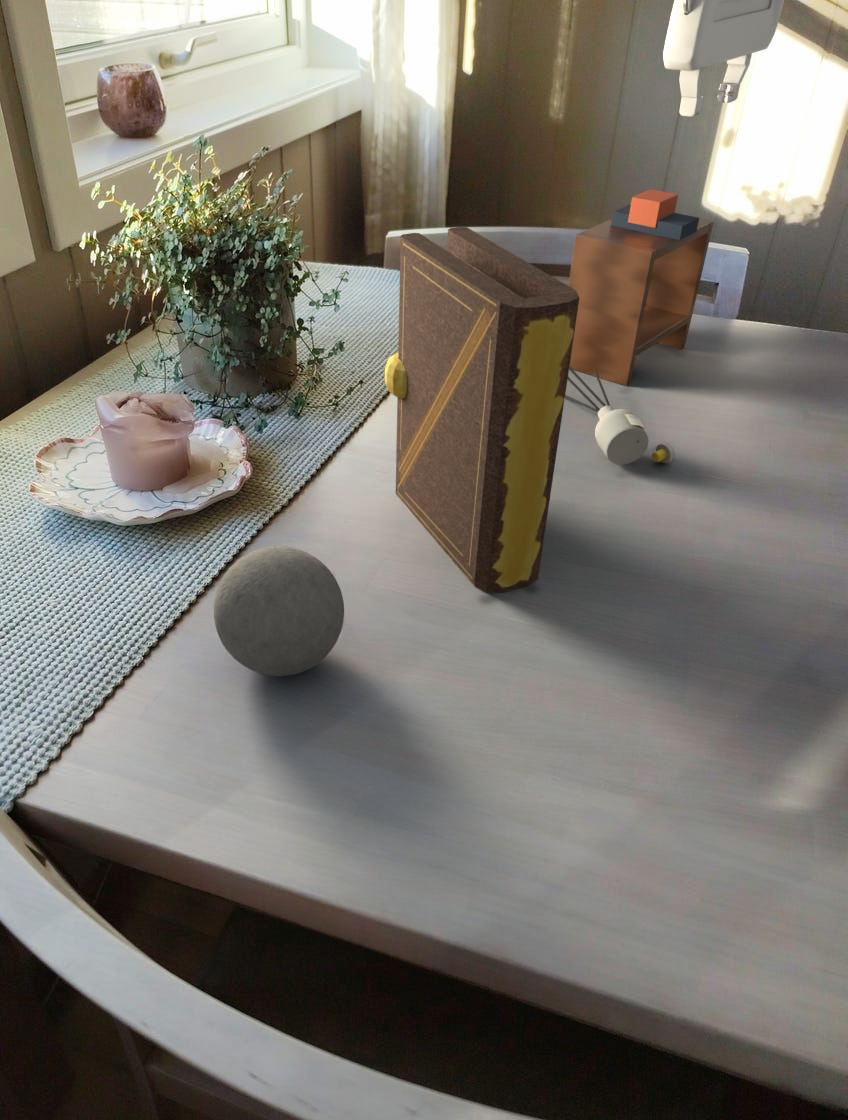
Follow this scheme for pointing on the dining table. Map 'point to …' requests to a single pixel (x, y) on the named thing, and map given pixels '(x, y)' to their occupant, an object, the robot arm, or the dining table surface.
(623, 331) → the rack
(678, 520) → the dining table surface
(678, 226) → the cube on dark base
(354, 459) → the dining table surface
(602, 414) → the reed diffuser
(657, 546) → the dining table surface
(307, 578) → the decorative ball
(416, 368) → the book
